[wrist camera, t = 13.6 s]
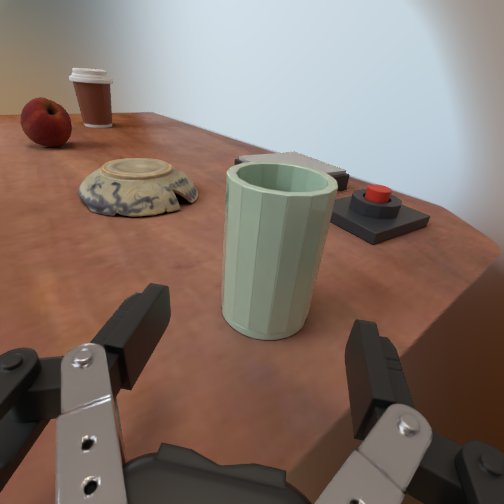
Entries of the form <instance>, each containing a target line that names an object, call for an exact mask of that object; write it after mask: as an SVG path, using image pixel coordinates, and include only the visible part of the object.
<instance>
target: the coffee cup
mask: <svg viewBox="0 0 504 504" xmlns="http://www.w3.org/2000/svg"><path fill="white" fill-rule="evenodd" d="M71 75H72V76H69V80H70V81H73V84H74V88H75V92H76V96H77V99H78V103H79V107H80V111H81V115H82V118H83V122H84V126H86V127H93V128H107V127H112V112H111V94H110V84H111V83H113V82H112V79H109V76H107V72H106V71H105V70H97V69H85V68H73V73H72V74H71Z"/></svg>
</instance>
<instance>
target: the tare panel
mask: <svg viewBox="0 0 504 504" xmlns="http://www.w3.org/2000/svg"><path fill="white" fill-rule="evenodd" d="M366 191H367V190H364V189H362V190H356V191H354V193H353V194H352V196H351V197H346V198H341V199H336V200H335V203H334V207H333V211H332V215H331V220H330V222H332V223H334V224H335V225H337V226H339V227H341V228H343V229H345V230H347V231H348V232H350V233H352V234H354V235H356V236H358V237H360V238H362V239H363V240H365V241H367V242H369V243H371V244H376V243H379V242H382V241H385V240H388V239H390V238H393V237H396V236H399V235H402V234H405V233H408V232H410V231H413V230H416V229H419V228H422V227H425V226H426V225H427V223H428V221H429V218H430V216H429V215H426V214H424V213H421V212H419V211H416V210H414V209H411V208H409V207H406V206H404V205H401V204H402V201H401V200H400V199H398V198H397V197H395V196H393V195H391V196H390V199H389V202H388V203H379V202H374V201H371V200H368V199H366V198H365V194H366Z"/></svg>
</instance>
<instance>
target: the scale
mask: <svg viewBox="0 0 504 504" xmlns="http://www.w3.org/2000/svg"><path fill="white" fill-rule="evenodd" d="M255 161H273V162H284V163H292V164H298V165H302V166H306V167H310V168H313V169H317V170H319V171H322V172H324V173H327V174H329V175H330V176H331V177H333V178H334V179H335V180H336V181H337V185H338V190H337V191H339V190H345V189H346V187H347V183H348V179H349V174H346V173H345V172H346V170H344V169H341V168H338V167H336V166H333V165H330V164H327V163H325V162H322V161H319V160H316V159H313V158H311V157H308V156H305V155H302V154H299V153H297V152H286V153H273V154H260V155H247V156H239V159H235V165H238V164H241V163H245V162H255Z"/></svg>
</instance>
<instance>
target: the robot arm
mask: <svg viewBox="0 0 504 504" xmlns="http://www.w3.org/2000/svg"><path fill="white" fill-rule="evenodd" d="M170 316H171V309H170V295H169V287H168V286H165V285H159V284H153V283H150V284H149V285H148V286H147V287H146V289H145V290H144V291H143V293H135V294H133V295H132V296H130V297H129V298H127V299H126V300H125V301H124V302H123V303H122V304H121V306H120V307H119V309H118V310H116V312H115V313H114V314H113V317H111V318H110V319H109V320H108V321H107V323H106V324H105V325H104V326H103V327H102V329H101V330H100V331H99V332H98V334H97V335H96V336H95V337H94V338H93V340H92V341H91V342H90V343H89V344H83V345H80V346H77V347H75V348H73V349H72V350H70V351H69V352H68V353H67V354H66V355H65V356H59V357H47V358H39V357H38V355H37V353H36V351H35V350H33V349H31V348H17V349H13V350H10V351H8V352H6V353H4V354H2V355H0V492H1V491H2V489H3V488H4V486H5V485H6V483H7V482H8V481H9V479H10V478H11V476H12V475H13V473H14V472H15V470H16V469H17V467H18V466H19V465H20V463H21V462H22V460H23V459H24V457H25V456H26V454H27V453H28V451H29V450H30V449H31V447H32V446H33V444H34V443H35V441H36V440H37V438H38V437H39V435H40V434H41V433H42V431H43V430H44V428H45V427H46V425H47V424H48V422H49V421H50V419H54V418H57V419H56V500H55V504H311V502H310V501H309V500H308V499H307V498H306V497H305V496H304V495H303V494H302V493H301V492H300V491H299V490H298V489H297V488H295V487H294V486H293V485H291V484H290V483H288V482H286V471H285V470H281V469H277V468H272V467H268V466H263V465H259V464H240V465H225V466H222V465H218V464H216V463H215V462H213V461H211V460H209V459H208V458H206V457H204V456H202V455H201V454H199V453H197V452H195V451H194V450H192V449H188V448H184V447H179V446H175V445H170V444H166V443H161V445H160V448H159V450H158V452H156V453H150V454H145V455H142V456H139V457H137V458H134V459H132V460H130V461H128V462H127V457H126V452H125V447H124V442H123V436H122V429H121V423H120V417H119V411H118V405H117V399H116V396H117V394H118V393H119V391H120V389H121V388H122V389H127V390H132V388H133V386H134V384H135V383H136V381H137V379H138V377H139V376H140V374H141V372H142V370H143V369H144V367H145V365H146V363H147V361H148V360H149V358H150V356H151V354H152V353H153V351H154V349H155V347H156V346H157V344H158V342H159V340H160V339H161V337H162V335H163V333H164V332H165V330H166V328H167V326H168V324H169V321H170ZM345 365H346V374H347V382H348V390H349V399H350V407H351V415H352V423H353V432H354V439H359V440H364V441H363V442H362V444H361V445H360V446H359V448H358V449H357V448H356V449H355V450H354V451H353V452H352V453H351V455H350V456H349V457H348V459H347V460H346V462H345V463H344V464H343V466H342V467H341V468H340V470H339V471H338V472H337V474H336V475H335V476H334V478H333V479H332V480H331V482H330V483H329V484H328V486H327V487H326V489H325V490H324V491H323V493H322V494H321V495H320V497H319V498H318V499H317V501H316V502H315V503H314V504H401V502H402V500H403V498H404V496H405V493H407V494H409V495H411V496H412V497H414V498H416V499H417V500H419V501H421V502H423V503H424V504H504V455H503V454H502V453H501V452H500V451H499V450H497V449H496V448H494V447H493V446H491V445H489V444H487V443H485V442H482V441H477V440H472V441H468V442H467V443H465V445H464V446H462V445H460V444H458V443H456V442H454V441H452V440H450V439H447V438H446V437H444V436H441V435H440V434H438V433H436V432H435V431H433V430H432V429H431V427H430V425H429V423H428V422H427V421H426V419H425V418H424V417H423V416H422V415H421V414H420V413H419V412H418V411H416V410H415V408H414V405H413V401H412V398H411V395H410V392H409V389H408V385H407V382H406V379H405V376H404V373H403V372H402V366H401V363H400V362H399V356H398V353H397V350H396V348H395V347H394V345H393V344H392V343H391V341H390V340H389V339H388V338H387V337H381V336H379V332H378V329H377V325H376V323H375V322H370V321H364V320H358V319H356V320H355V322H354V324H353V327H352V330H351V333H350V336H349V339H348V342H347V345H346V349H345Z"/></svg>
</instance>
